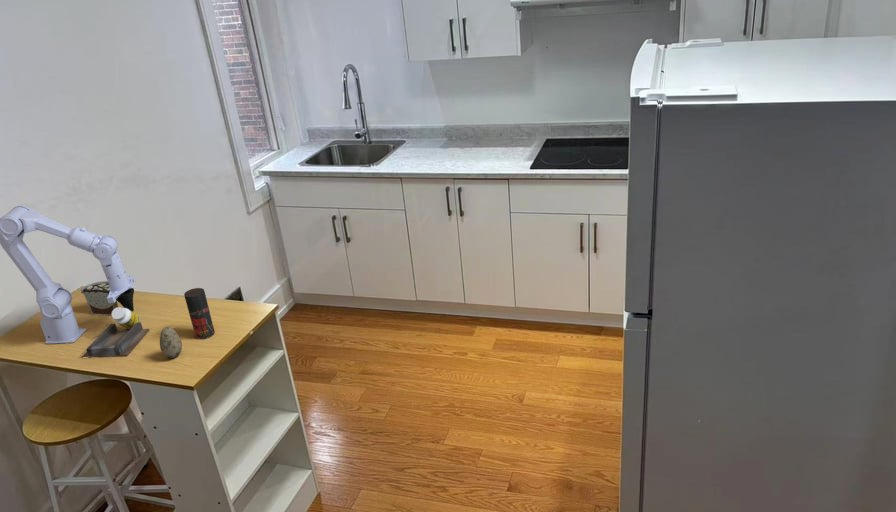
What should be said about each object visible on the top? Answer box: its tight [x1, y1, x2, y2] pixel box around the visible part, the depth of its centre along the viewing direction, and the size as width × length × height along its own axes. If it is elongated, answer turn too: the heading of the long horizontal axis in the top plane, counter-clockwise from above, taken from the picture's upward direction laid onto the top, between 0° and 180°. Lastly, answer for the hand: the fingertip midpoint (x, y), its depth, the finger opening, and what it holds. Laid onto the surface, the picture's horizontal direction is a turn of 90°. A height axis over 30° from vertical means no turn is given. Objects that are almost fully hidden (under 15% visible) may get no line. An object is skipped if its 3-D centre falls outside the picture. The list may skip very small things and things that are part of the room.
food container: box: [80, 280, 119, 316], centre depth 226 cm, size 12×6×10 cm, turn 77°
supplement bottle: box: [111, 306, 141, 330], centre depth 211 cm, size 5×5×10 cm
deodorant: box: [183, 287, 216, 340], centre depth 205 cm, size 6×6×15 cm
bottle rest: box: [82, 321, 150, 358], centre depth 206 cm, size 14×15×3 cm
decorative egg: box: [159, 326, 183, 358], centre depth 196 cm, size 6×6×10 cm
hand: (130, 311), depth 213 cm, fingers closed, pressing on supplement bottle
